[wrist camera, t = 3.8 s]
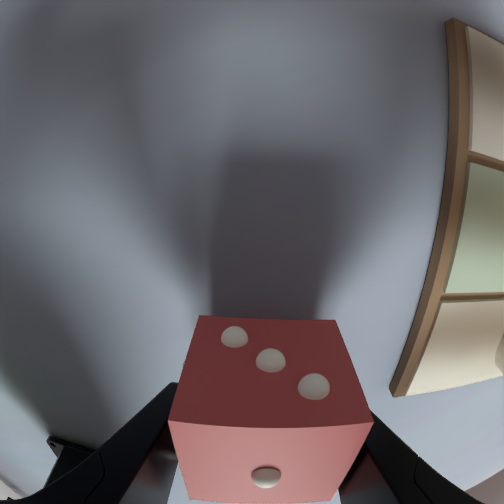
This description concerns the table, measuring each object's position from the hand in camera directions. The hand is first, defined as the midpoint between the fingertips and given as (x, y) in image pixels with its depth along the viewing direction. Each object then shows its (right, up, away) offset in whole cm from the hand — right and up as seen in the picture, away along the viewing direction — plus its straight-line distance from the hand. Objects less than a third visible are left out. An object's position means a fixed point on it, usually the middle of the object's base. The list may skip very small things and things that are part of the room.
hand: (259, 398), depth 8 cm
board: (+13, +5, +1) cm, 14 cm away
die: (0, 0, +1) cm, 1 cm away
